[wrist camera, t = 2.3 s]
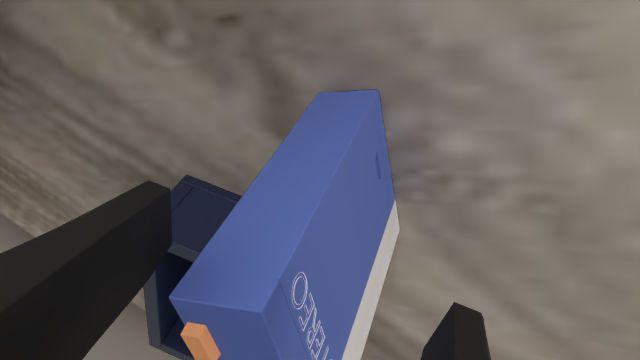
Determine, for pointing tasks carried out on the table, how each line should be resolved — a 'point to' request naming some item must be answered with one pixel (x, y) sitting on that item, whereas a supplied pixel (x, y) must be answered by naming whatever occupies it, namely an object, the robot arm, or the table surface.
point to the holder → (183, 257)
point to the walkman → (300, 245)
